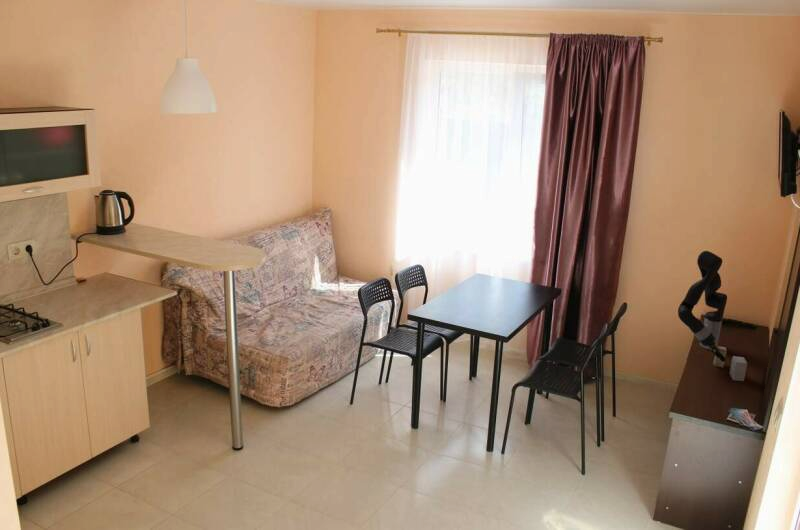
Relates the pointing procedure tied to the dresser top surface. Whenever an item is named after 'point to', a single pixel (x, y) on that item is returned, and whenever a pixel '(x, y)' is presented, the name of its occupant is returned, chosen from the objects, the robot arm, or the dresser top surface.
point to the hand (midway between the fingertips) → (723, 358)
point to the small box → (738, 368)
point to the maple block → (717, 360)
